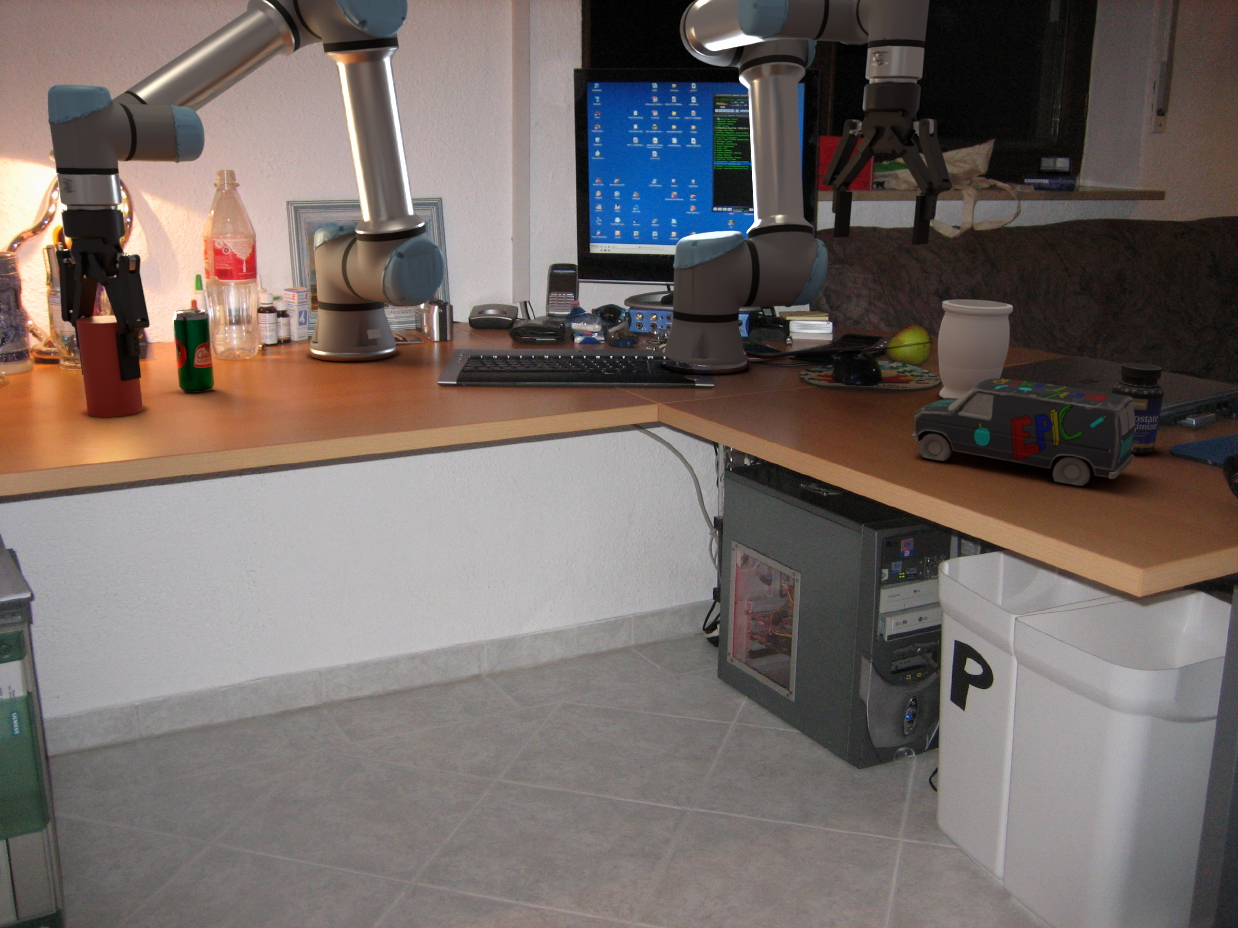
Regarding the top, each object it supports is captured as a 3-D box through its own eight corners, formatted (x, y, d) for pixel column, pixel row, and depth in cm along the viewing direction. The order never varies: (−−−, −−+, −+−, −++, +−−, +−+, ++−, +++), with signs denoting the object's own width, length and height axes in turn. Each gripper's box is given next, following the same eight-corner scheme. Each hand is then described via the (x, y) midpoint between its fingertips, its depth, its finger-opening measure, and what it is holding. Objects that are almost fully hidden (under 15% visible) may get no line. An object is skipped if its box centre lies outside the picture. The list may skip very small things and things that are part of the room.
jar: (918, 393, 171) (927, 299, 167) (969, 389, 175) (980, 297, 170) (963, 408, 161) (974, 309, 157) (1016, 403, 165) (1028, 306, 161)
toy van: (935, 438, 144) (942, 365, 141) (1133, 472, 130) (1146, 392, 127) (905, 455, 135) (913, 378, 133) (1114, 493, 122) (1127, 408, 119)
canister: (81, 410, 151) (69, 318, 147) (133, 403, 155) (123, 314, 152) (96, 419, 146) (85, 325, 142) (150, 412, 150) (140, 320, 147)
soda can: (202, 393, 161) (195, 314, 158) (172, 391, 162) (164, 312, 159) (221, 386, 166) (214, 309, 163) (191, 384, 167) (184, 308, 163)
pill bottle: (1117, 454, 138) (1130, 370, 135) (1094, 442, 144) (1106, 361, 140) (1163, 454, 138) (1177, 370, 135) (1139, 442, 144) (1152, 361, 141)
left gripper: (16, 205, 144) (39, 373, 150) (120, 211, 135) (140, 389, 142) (65, 203, 150) (85, 364, 156) (168, 209, 142) (184, 379, 148)
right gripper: (804, 84, 153) (794, 235, 159) (957, 77, 134) (939, 248, 140) (837, 86, 157) (827, 233, 163) (989, 80, 139) (971, 246, 145)
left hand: (111, 376), depth 149 cm, fingers closed on canister, 7 cm apart
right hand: (879, 241), depth 152 cm, fingers open, 13 cm apart
